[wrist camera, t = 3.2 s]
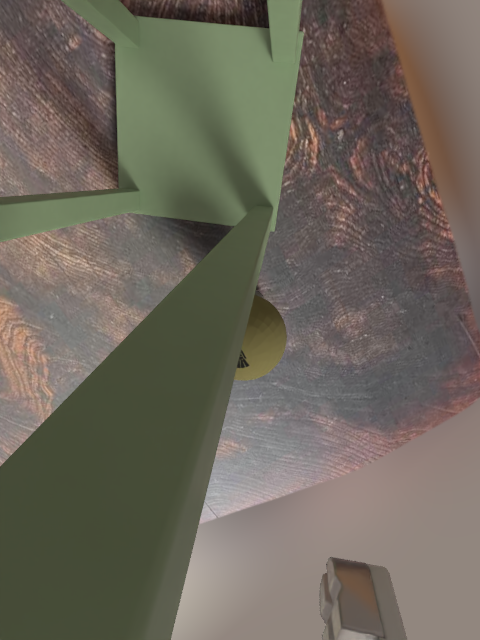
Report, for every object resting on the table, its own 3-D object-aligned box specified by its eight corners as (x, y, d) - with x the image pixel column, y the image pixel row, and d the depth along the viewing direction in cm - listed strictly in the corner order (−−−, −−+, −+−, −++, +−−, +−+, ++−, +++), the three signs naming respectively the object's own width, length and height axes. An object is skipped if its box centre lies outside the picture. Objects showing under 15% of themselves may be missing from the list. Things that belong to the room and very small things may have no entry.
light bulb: (299, 306, 29) (307, 368, 19) (247, 342, 30) (232, 413, 21) (257, 254, 27) (245, 293, 18) (206, 294, 29) (171, 348, 20)
